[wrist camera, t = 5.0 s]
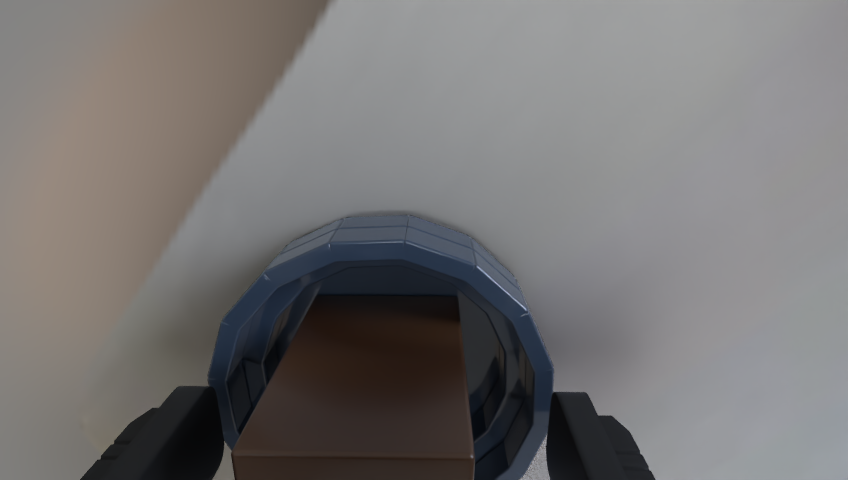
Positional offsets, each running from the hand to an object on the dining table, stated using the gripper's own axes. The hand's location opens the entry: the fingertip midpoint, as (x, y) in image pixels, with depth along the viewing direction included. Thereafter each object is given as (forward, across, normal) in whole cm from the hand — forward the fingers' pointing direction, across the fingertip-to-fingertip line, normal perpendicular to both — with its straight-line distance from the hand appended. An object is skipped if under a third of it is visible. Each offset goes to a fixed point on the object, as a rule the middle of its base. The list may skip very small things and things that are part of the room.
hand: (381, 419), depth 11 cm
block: (+3, 0, 0) cm, 3 cm away
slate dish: (+3, 0, 0) cm, 3 cm away
